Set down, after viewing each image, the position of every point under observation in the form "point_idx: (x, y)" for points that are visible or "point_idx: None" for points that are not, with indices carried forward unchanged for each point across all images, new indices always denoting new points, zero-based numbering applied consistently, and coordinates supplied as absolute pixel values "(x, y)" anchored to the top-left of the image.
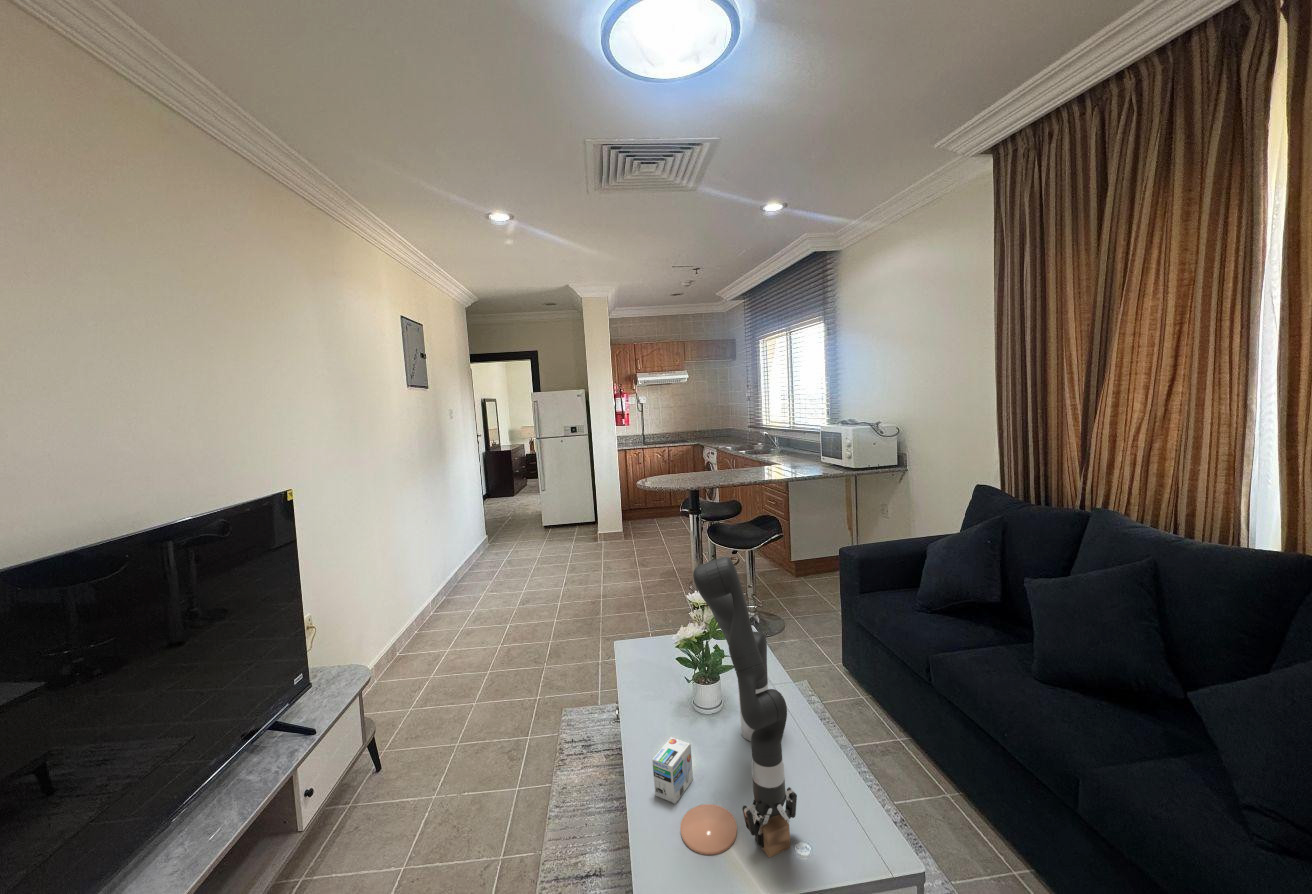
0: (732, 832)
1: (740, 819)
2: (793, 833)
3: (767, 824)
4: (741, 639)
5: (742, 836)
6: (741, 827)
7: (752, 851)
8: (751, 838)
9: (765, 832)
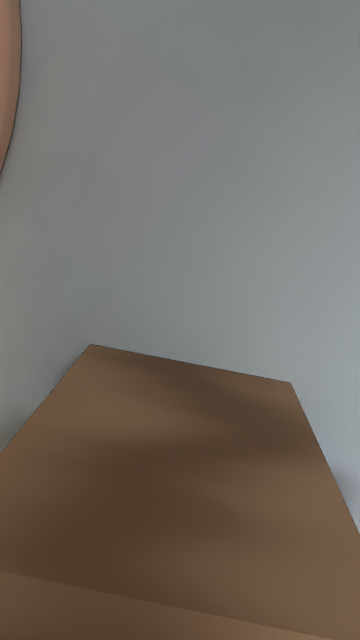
0: None
1: (95, 90)
2: (355, 477)
3: None
4: None
5: (8, 271)
6: (49, 187)
7: (10, 407)
8: (63, 329)
9: None
